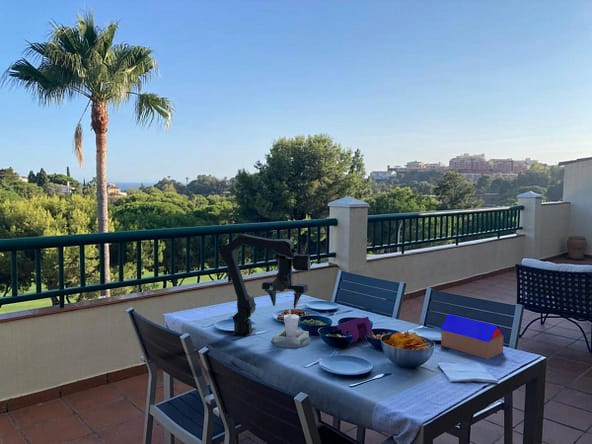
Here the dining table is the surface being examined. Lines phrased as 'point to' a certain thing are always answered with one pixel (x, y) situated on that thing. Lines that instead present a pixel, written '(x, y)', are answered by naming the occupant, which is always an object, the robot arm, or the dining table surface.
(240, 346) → the dining table surface
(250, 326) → the robot arm
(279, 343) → the disk with square socket
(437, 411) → the dining table surface
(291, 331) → the smoothie
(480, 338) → the house
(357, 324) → the mounting bracket
